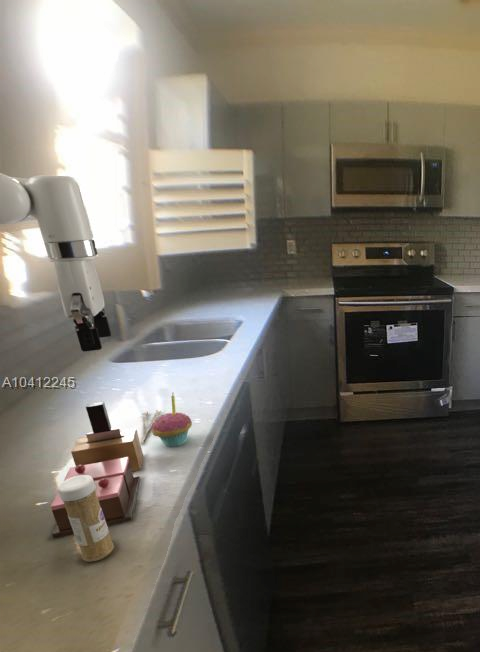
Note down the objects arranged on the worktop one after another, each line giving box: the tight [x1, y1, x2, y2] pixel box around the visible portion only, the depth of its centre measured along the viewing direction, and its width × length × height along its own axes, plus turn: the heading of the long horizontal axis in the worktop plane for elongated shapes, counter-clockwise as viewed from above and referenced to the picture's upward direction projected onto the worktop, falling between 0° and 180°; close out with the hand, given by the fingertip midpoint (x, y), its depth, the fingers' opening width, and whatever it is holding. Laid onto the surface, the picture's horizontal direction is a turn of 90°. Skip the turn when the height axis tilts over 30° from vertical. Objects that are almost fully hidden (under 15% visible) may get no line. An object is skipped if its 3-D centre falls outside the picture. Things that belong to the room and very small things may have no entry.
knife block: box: [70, 428, 144, 473], centre depth 96 cm, size 11×6×7 cm, turn 111°
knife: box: [85, 401, 122, 443], centre depth 94 cm, size 6×2×14 cm, turn 110°
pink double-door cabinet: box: [50, 457, 142, 539], centre depth 84 cm, size 12×14×7 cm
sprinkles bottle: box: [57, 475, 115, 563], centre depth 71 cm, size 5×5×13 cm
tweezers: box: [141, 409, 162, 445], centre depth 115 cm, size 18×5×2 cm, turn 18°
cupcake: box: [151, 392, 193, 448], centre depth 105 cm, size 9×8×12 cm
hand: (97, 343), depth 88 cm, fingers open, 9 cm apart
